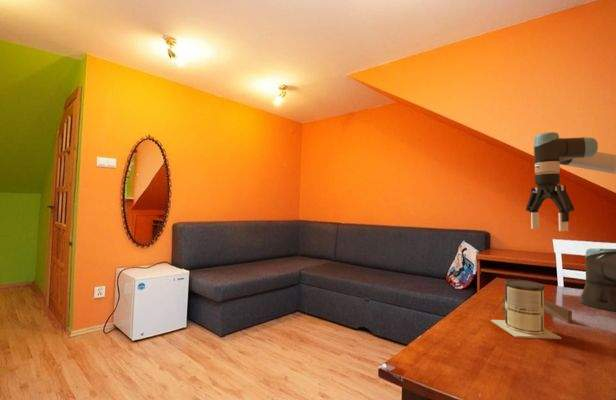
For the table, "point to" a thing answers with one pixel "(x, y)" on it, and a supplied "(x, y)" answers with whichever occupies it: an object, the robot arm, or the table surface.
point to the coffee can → (524, 306)
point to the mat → (546, 333)
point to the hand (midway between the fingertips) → (548, 229)
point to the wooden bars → (553, 311)
